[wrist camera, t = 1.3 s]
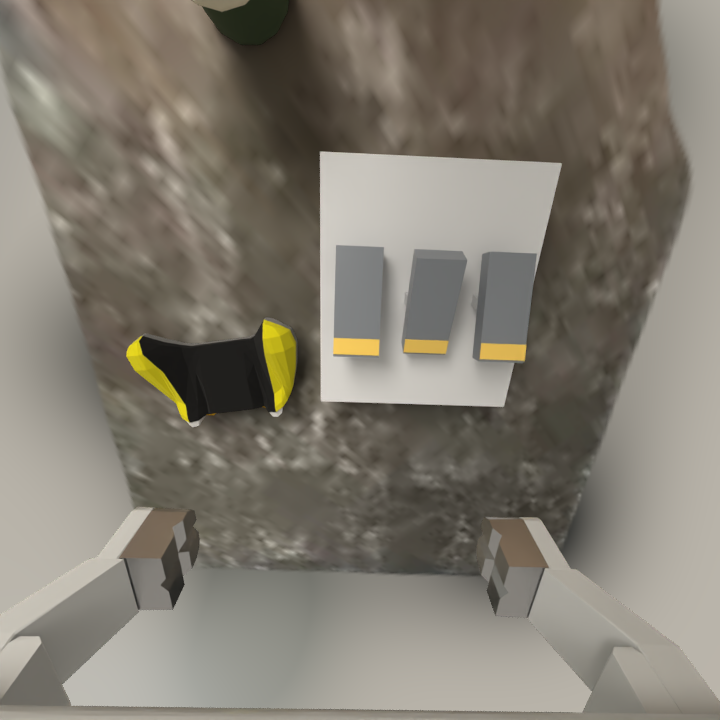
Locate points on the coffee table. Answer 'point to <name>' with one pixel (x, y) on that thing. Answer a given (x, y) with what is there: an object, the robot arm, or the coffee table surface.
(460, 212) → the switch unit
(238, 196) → the coffee table surface
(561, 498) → the coffee table surface
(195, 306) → the coffee table surface
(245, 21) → the character mug
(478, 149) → the coffee table surface
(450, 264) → the block
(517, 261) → the block
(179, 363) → the gaming controller
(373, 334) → the block
